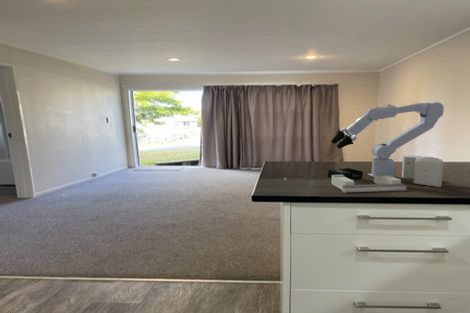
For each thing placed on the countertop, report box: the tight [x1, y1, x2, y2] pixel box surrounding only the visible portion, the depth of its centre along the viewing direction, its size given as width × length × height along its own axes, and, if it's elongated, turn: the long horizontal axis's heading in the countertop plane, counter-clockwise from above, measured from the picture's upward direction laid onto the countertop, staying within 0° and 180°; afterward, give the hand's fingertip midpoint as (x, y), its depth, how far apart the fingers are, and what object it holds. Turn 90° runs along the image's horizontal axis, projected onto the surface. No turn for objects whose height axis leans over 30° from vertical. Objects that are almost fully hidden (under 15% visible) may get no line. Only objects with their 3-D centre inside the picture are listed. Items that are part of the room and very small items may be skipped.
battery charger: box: [327, 167, 364, 181], centre depth 132 cm, size 13×10×4 cm
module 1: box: [331, 175, 355, 190], centre depth 114 cm, size 4×12×4 cm, turn 5°
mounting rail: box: [341, 182, 407, 194], centre depth 108 cm, size 26×2×2 cm, turn 95°
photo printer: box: [413, 156, 444, 188], centre depth 116 cm, size 10×4×12 cm, turn 39°
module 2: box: [373, 173, 402, 184], centre depth 116 cm, size 4×12×4 cm, turn 5°
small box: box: [401, 155, 423, 180], centre depth 130 cm, size 8×6×10 cm
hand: (334, 145), depth 136 cm, fingers open, 7 cm apart
